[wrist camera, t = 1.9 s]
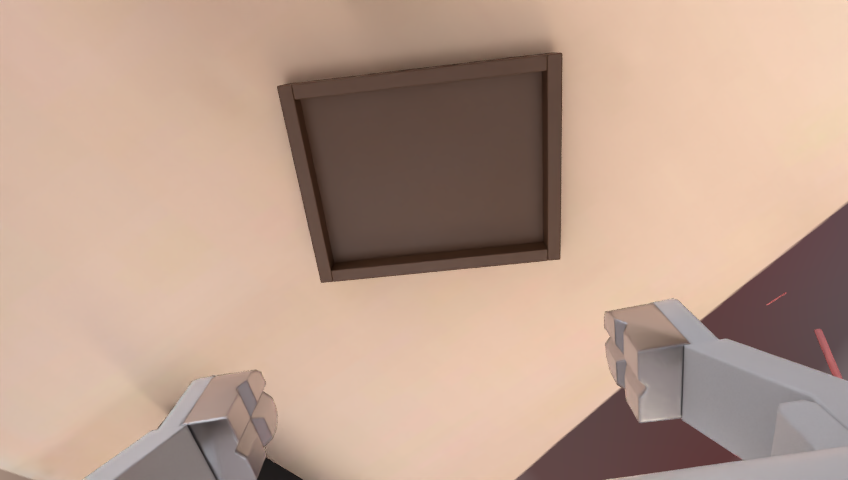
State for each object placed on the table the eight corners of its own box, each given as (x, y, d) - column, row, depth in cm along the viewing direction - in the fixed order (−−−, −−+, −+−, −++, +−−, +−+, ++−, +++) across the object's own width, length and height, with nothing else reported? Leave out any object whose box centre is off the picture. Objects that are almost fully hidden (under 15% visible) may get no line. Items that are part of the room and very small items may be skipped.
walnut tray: (326, 271, 38) (320, 283, 36) (285, 83, 32) (276, 86, 30) (553, 248, 37) (560, 259, 35) (554, 52, 31) (562, 52, 29)
